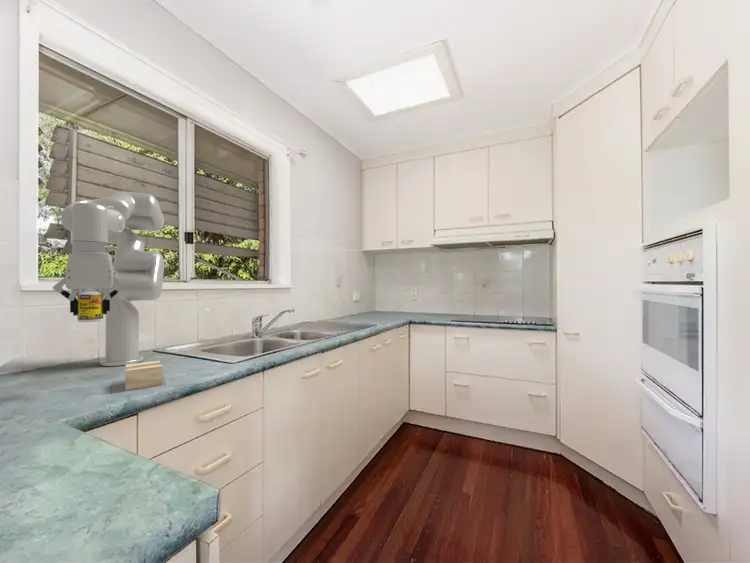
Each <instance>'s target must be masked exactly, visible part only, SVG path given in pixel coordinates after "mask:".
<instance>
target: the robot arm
mask: <svg viewBox="0 0 750 563" xmlns="http://www.w3.org/2000/svg"><path fill="white" fill-rule="evenodd" d="M60 218H61V220H60V221H61V224H62V226H63V227H64V228H65V229H66V230H68V232H71V236H72V237H71V238H72V239H71V240H72V243H71V244H72V245H71V246H72V249H71V251H72V252H69V253H68V256H67V261H66V266H65V276H64V277H63V278H61V279H60V280H59V281H58V282H57V283H56V284H55V285H53V286H52V289H53V290H54V291H55V292H57V293H58V294H61V296H62V297H64V298H66V299H67V300H68V301H69V313H73V314H72V315H73V316H76V317H77V293H78V292H80V291H82V290H85V289H88V288H93V289H96V290H99V291H102V292H103V294H104V300H103V315H105V355H104V356H105V358H104V359H101V360H100V361H99V365H100V366H102V367H117V366H126V364H135V363H142V362H143V361H144V356H143V355H139V348H140V347H139V344H140V343H139V336H140V334H139V333H140V332H139V331H140V330H139V329H140V327H139V326H140V325H139V324H140V322H139V320H140V316H139V315H140V313H139V310H138V309H137V307H136V306H135V305H134V304H133V303H132V302H133V301H136V302H138V301H156V300H158V299H159V298H160V297H161V295H162V291H163V283H164V274H165V259H164V256H163V255H162V253H160V252H158V251H153V250H147V251H146V250H145V242H144V240H143V239H142V238H141V237H140V235H138V233H135V232H134V231H150V232H152V231H153V232H154V231H155V232H158V231H161V230H162V229H163V227H164V225H165V218H164V214H163V212H162V209H161V207H160V204H159V202H158V200H157V198H156V197H155V196H154V195H152V194H151V193H147V192H136V191H126V190H121V191H115V192H114V193H112V194H110V195H109V196H107V197H102V198H95V199H87V200H79V201H74V202H71V203H70V204H68V205H67V206H66V207H65V208H64V209H63V210H62V212H61V217H60ZM109 235H115V238H116V241H117V244H116V248H115V245H110V244H109ZM112 251H113V252H114V251H115V254H114V259H113V257H112V254H109V252H112ZM114 272H115V273H116V274H115V273H114ZM63 286H65V287H66V289H68V290H70V292H69V291H68V290H66V289H64V287H63Z"/></svg>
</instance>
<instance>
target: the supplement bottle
mask: <svg viewBox="0 0 750 563" xmlns="http://www.w3.org/2000/svg"><path fill="white" fill-rule="evenodd" d="M76 298H77V315H76V320H77V322H79V323H94V322H95V323H96V322H102V321H103V320H104V314H103V300H104V294H103V292H102V290H96V289H93V288H88V289H85V290H79V292H78V293H77V296H76Z"/></svg>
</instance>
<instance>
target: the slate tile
mask: <svg viewBox="0 0 750 563" xmlns="http://www.w3.org/2000/svg"><path fill="white" fill-rule="evenodd" d="M162 386H167V382H166V379H165V376H164V375H163V374H162V385H156V386H149V387H142V388H136V389H129V390H126V379H124V380H117V381H112V383H111V387H110V394H115V393H117V394H118V393H124V392H129V391H135V390H143V389H149V388H156V387H162Z"/></svg>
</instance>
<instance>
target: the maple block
mask: <svg viewBox="0 0 750 563" xmlns="http://www.w3.org/2000/svg"><path fill="white" fill-rule="evenodd" d="M162 375H163V365H162V363H161V360H156V361H155V360H153V361H145V362H138V363H133V364H126V365H125V380H126V390H129V389H136V388H142V387H149V386H156V385H162Z"/></svg>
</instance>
